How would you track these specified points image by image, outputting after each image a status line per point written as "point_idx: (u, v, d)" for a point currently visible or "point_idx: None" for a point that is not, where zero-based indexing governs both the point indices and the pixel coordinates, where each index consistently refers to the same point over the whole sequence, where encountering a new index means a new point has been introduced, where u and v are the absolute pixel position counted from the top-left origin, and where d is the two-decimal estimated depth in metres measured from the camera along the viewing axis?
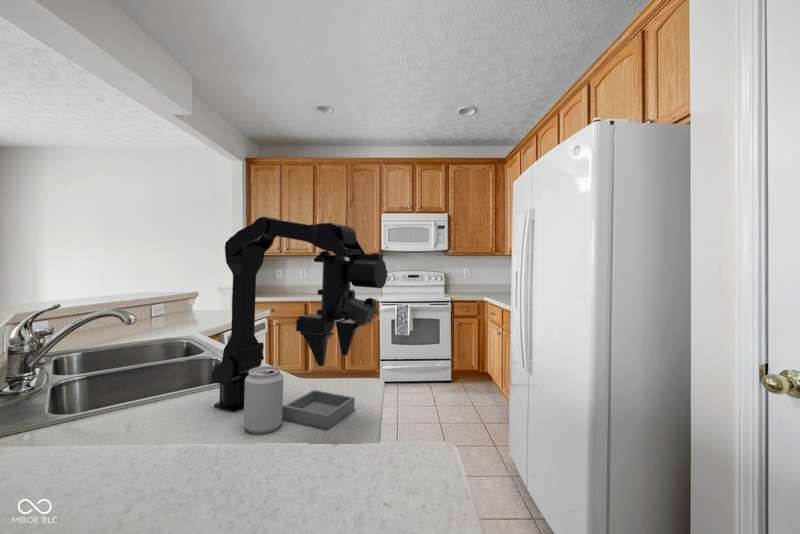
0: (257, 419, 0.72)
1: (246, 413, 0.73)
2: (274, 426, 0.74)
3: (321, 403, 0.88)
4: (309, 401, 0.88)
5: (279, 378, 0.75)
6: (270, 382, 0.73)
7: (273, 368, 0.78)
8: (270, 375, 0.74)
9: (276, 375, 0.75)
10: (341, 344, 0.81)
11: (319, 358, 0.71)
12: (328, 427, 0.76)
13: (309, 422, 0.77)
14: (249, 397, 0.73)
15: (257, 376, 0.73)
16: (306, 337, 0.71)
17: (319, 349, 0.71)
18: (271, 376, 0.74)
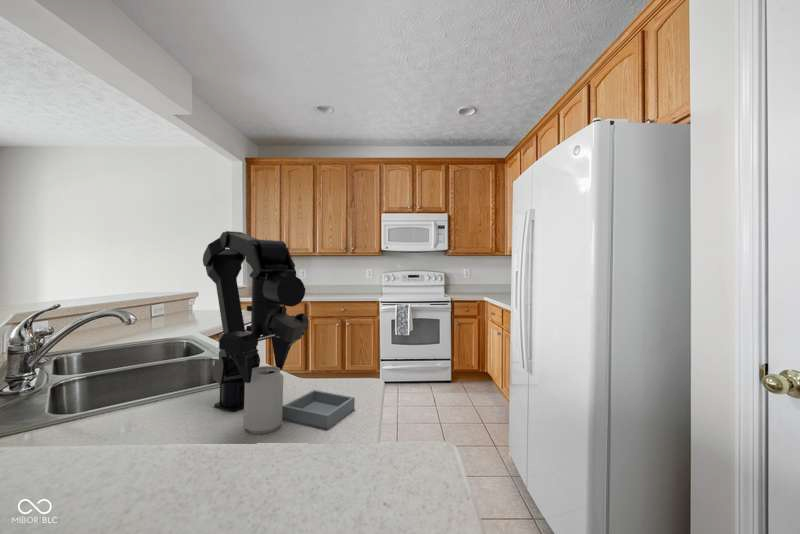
0: (257, 419, 0.72)
1: (246, 413, 0.73)
2: (274, 426, 0.74)
3: (321, 403, 0.88)
4: (309, 401, 0.88)
5: (279, 378, 0.75)
6: (270, 382, 0.73)
7: (273, 368, 0.78)
8: (270, 375, 0.74)
9: (276, 375, 0.75)
10: (276, 359, 0.81)
11: (245, 375, 0.71)
12: (328, 427, 0.76)
13: (309, 422, 0.77)
14: (249, 397, 0.73)
15: (257, 376, 0.73)
16: (231, 354, 0.71)
17: (244, 366, 0.71)
18: (271, 376, 0.74)
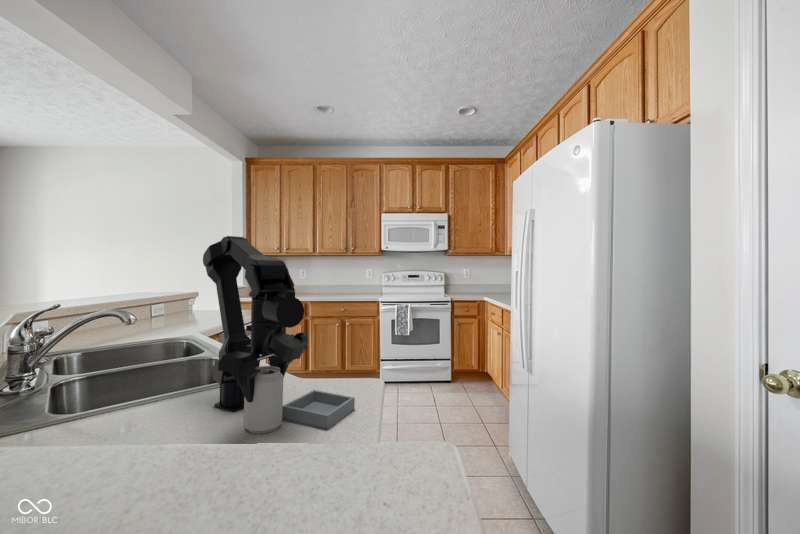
0: (257, 419, 0.72)
1: (246, 413, 0.73)
2: (274, 426, 0.74)
3: (321, 403, 0.88)
4: (309, 401, 0.88)
5: (279, 378, 0.75)
6: (270, 382, 0.73)
7: (273, 368, 0.78)
8: (270, 375, 0.74)
9: (276, 375, 0.75)
10: None
11: (247, 395, 0.72)
12: (328, 427, 0.76)
13: (309, 422, 0.77)
14: None
15: (257, 376, 0.73)
16: (234, 374, 0.71)
17: (247, 386, 0.71)
18: (271, 376, 0.74)
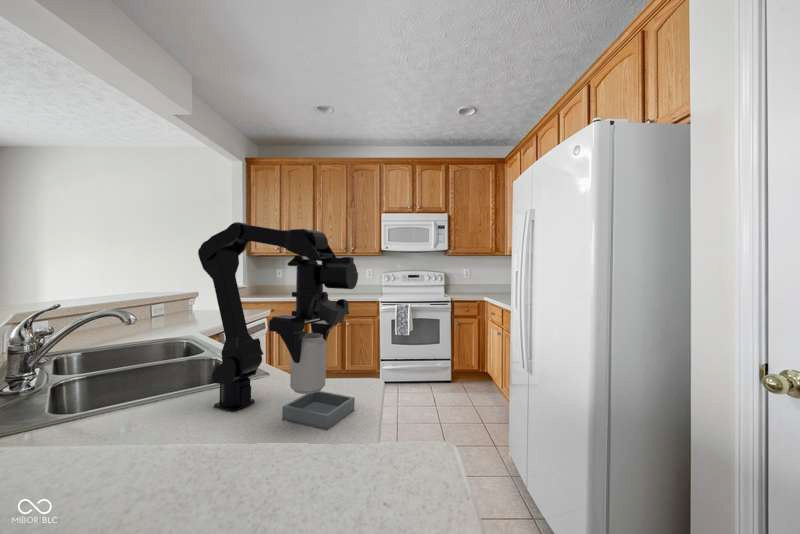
0: (303, 379, 0.77)
1: (293, 375, 0.78)
2: (319, 387, 0.79)
3: (321, 403, 0.88)
4: (309, 401, 0.88)
5: (322, 343, 0.79)
6: (315, 345, 0.78)
7: (316, 334, 0.83)
8: (315, 339, 0.78)
9: (320, 340, 0.79)
10: None
11: (294, 355, 0.77)
12: (328, 427, 0.76)
13: (309, 422, 0.77)
14: None
15: (303, 340, 0.78)
16: (282, 336, 0.76)
17: (294, 347, 0.76)
18: (315, 340, 0.78)
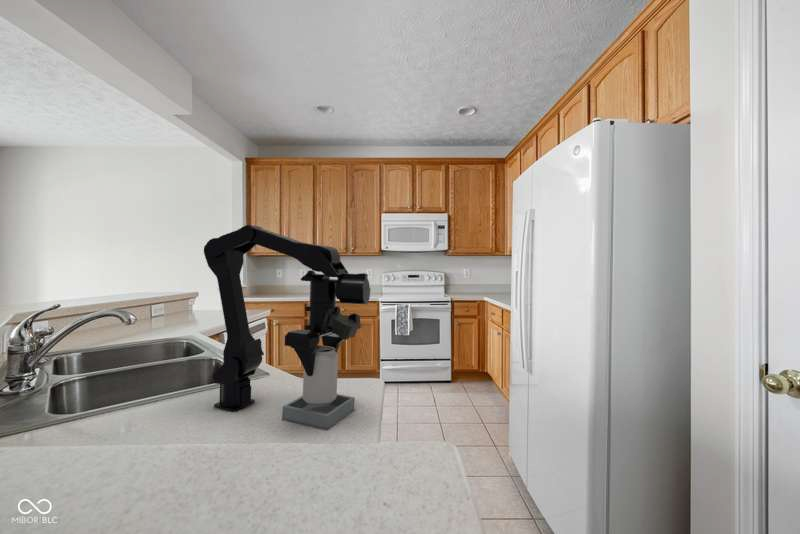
0: (316, 392, 0.79)
1: (306, 387, 0.80)
2: (331, 400, 0.81)
3: None
4: None
5: (335, 356, 0.82)
6: (328, 359, 0.80)
7: (327, 347, 0.85)
8: (328, 353, 0.80)
9: (332, 353, 0.82)
10: None
11: (308, 369, 0.79)
12: (328, 427, 0.76)
13: (309, 422, 0.77)
14: None
15: (316, 353, 0.80)
16: (296, 350, 0.78)
17: (308, 361, 0.78)
18: (328, 353, 0.81)
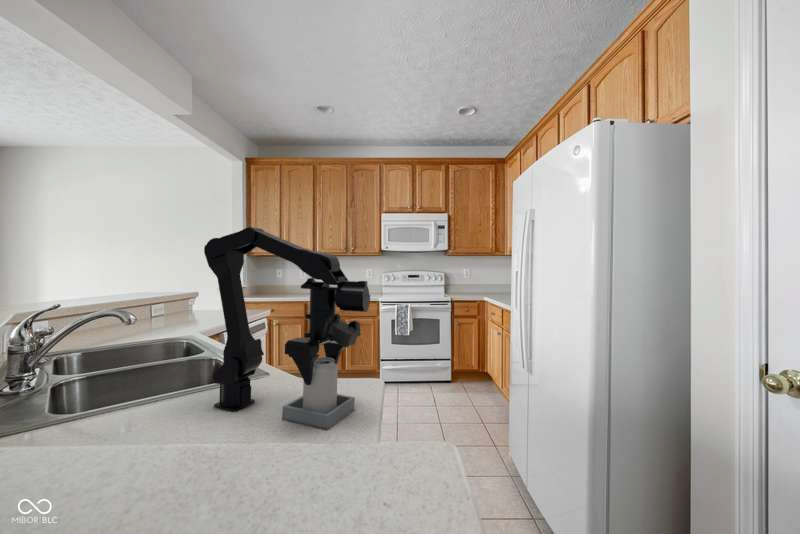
0: (316, 404, 0.79)
1: (306, 399, 0.80)
2: None
3: None
4: None
5: (334, 368, 0.82)
6: (327, 371, 0.80)
7: (327, 359, 0.85)
8: (327, 365, 0.80)
9: (332, 365, 0.82)
10: None
11: (306, 378, 0.78)
12: (328, 427, 0.76)
13: (309, 422, 0.77)
14: None
15: (316, 365, 0.80)
16: (294, 359, 0.77)
17: (306, 370, 0.77)
18: (328, 365, 0.81)
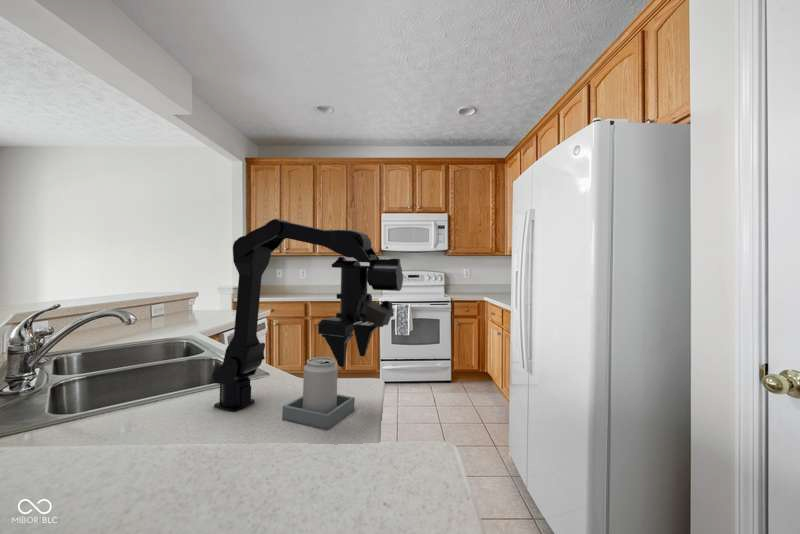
0: (316, 404, 0.79)
1: (306, 399, 0.80)
2: None
3: None
4: None
5: (334, 368, 0.82)
6: (327, 371, 0.80)
7: (327, 359, 0.85)
8: (327, 365, 0.80)
9: (332, 365, 0.82)
10: (359, 346, 0.84)
11: (340, 359, 0.75)
12: (328, 427, 0.76)
13: (309, 422, 0.77)
14: (309, 384, 0.79)
15: (316, 365, 0.80)
16: (327, 339, 0.74)
17: (340, 350, 0.74)
18: (328, 365, 0.81)
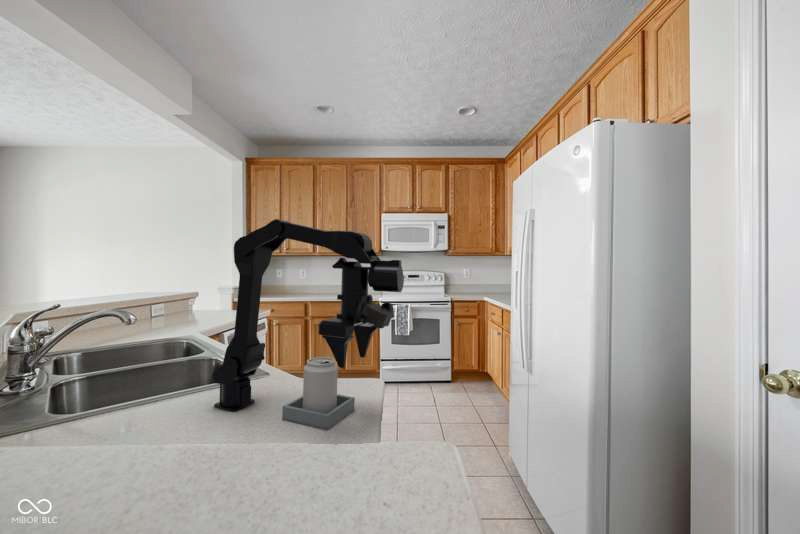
0: (316, 404, 0.79)
1: (306, 399, 0.80)
2: None
3: None
4: None
5: (334, 368, 0.82)
6: (327, 371, 0.80)
7: (327, 359, 0.85)
8: (327, 365, 0.80)
9: (332, 365, 0.82)
10: (359, 346, 0.84)
11: (340, 360, 0.75)
12: (328, 427, 0.76)
13: (309, 422, 0.77)
14: (309, 384, 0.79)
15: (316, 365, 0.80)
16: (327, 340, 0.74)
17: (340, 351, 0.74)
18: (328, 365, 0.81)
